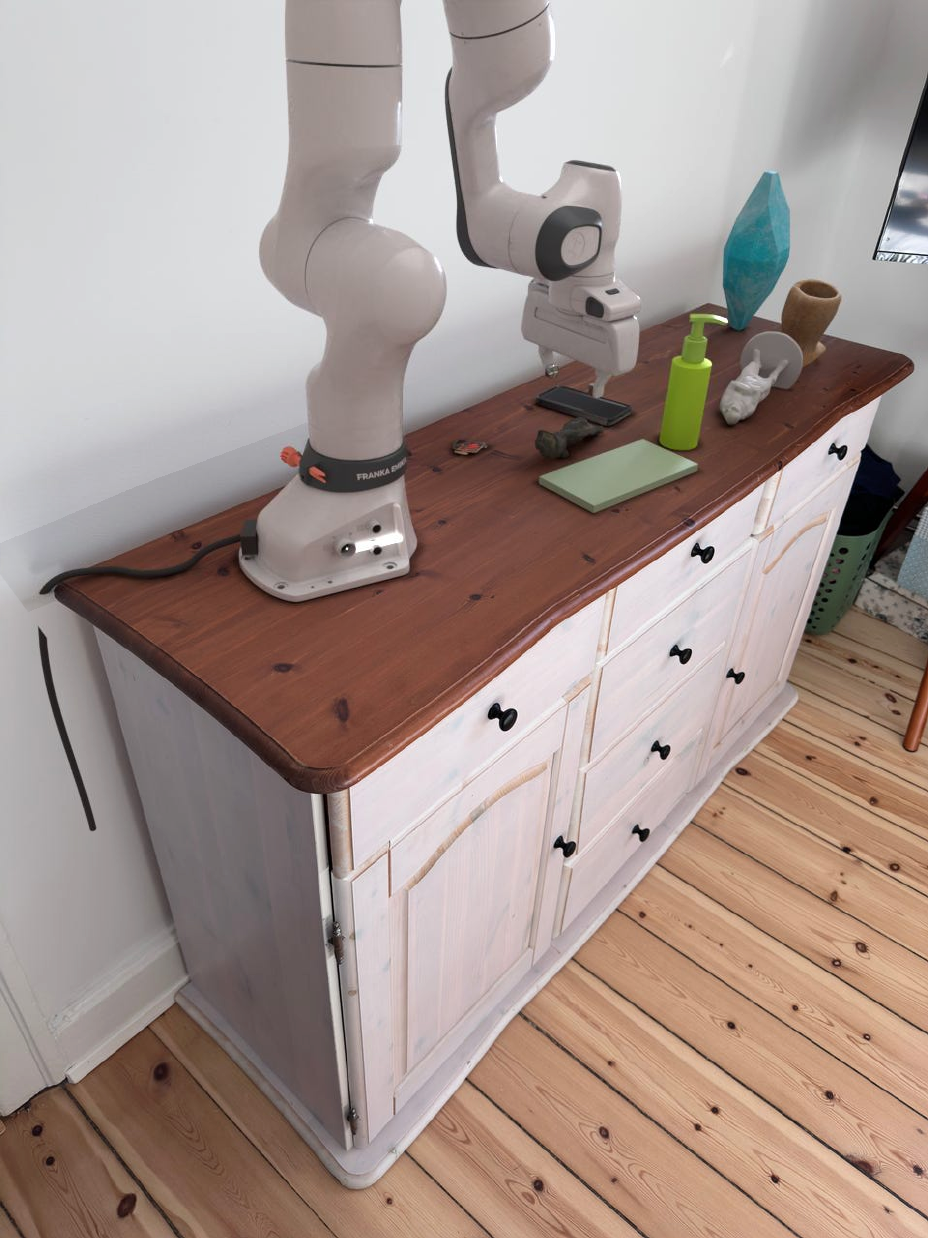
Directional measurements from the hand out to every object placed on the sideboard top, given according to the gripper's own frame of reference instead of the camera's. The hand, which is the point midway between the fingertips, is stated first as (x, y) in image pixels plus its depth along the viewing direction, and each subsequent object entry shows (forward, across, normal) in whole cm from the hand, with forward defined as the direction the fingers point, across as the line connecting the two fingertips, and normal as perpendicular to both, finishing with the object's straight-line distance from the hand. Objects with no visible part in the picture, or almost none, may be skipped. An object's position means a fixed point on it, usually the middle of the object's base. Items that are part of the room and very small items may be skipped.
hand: (572, 385), depth 135 cm
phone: (+11, -11, +14) cm, 21 cm away
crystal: (+12, -23, +74) cm, 78 cm away
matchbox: (+11, -10, -12) cm, 19 cm away
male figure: (+12, +4, +40) cm, 42 cm away
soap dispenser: (+11, +8, +18) cm, 22 cm away
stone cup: (+12, -4, +66) cm, 67 cm away
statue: (+11, 0, 0) cm, 11 cm away
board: (+11, +10, 0) cm, 15 cm away
